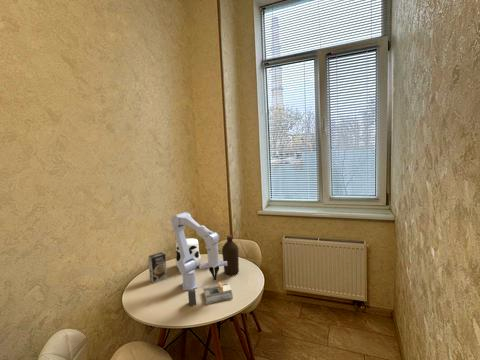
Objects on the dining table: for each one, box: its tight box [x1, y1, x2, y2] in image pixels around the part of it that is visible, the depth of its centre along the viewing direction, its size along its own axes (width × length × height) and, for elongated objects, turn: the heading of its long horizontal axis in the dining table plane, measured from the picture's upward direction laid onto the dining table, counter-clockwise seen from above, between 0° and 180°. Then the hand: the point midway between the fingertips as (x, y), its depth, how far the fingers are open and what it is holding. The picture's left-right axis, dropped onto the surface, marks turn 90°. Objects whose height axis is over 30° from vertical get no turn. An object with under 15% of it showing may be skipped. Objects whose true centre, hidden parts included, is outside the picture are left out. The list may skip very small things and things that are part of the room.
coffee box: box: [147, 252, 168, 284], centre depth 162 cm, size 9×6×16 cm
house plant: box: [204, 242, 223, 255], centre depth 179 cm, size 14×14×16 cm
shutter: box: [218, 281, 233, 293], centre depth 140 cm, size 6×6×3 cm
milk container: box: [175, 238, 202, 269], centre depth 179 cm, size 17×17×18 cm
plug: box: [187, 288, 197, 307], centre depth 132 cm, size 4×4×8 cm
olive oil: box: [221, 234, 240, 277], centre depth 165 cm, size 11×11×25 cm
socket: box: [202, 283, 234, 305], centre depth 139 cm, size 12×14×3 cm
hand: (214, 279), depth 138 cm, fingers closed
